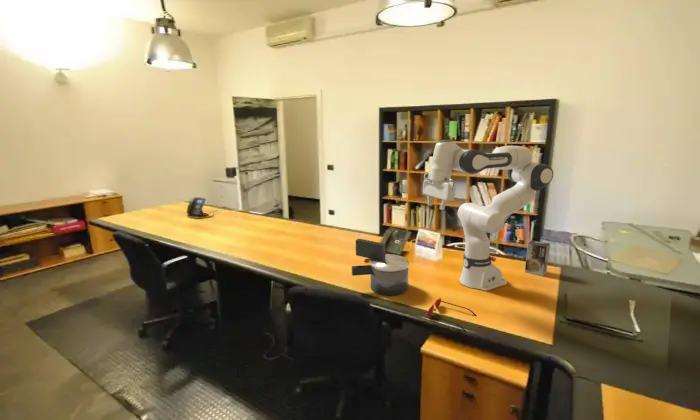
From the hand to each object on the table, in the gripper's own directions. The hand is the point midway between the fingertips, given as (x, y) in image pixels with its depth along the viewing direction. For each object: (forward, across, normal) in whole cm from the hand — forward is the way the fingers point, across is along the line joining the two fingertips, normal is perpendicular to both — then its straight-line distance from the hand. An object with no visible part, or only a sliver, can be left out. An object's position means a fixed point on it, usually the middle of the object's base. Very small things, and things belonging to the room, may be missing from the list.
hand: (435, 207), depth 155 cm
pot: (+43, +11, +17) cm, 47 cm away
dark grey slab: (+30, +13, +17) cm, 37 cm away
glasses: (+42, -23, 0) cm, 48 cm away
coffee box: (+32, -2, -65) cm, 73 cm away
